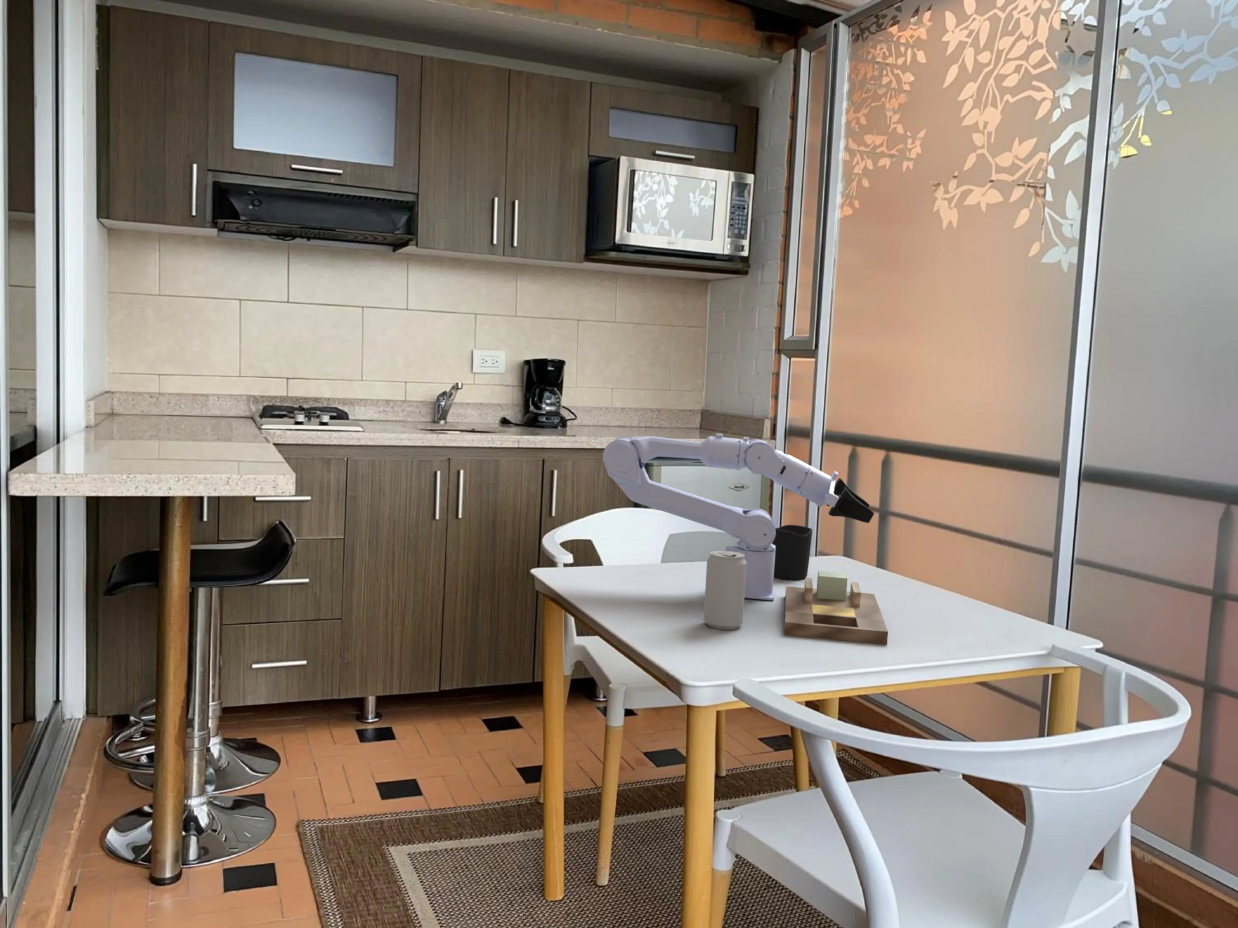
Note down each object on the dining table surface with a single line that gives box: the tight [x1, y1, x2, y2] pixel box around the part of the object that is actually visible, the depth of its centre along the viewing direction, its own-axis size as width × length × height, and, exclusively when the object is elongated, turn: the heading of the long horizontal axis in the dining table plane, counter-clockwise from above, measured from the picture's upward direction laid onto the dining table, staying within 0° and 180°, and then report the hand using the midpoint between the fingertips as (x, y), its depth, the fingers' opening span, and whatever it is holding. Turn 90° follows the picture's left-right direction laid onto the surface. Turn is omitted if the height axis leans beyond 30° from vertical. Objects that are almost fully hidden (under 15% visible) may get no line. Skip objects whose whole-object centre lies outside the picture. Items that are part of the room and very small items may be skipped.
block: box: [816, 570, 848, 601], centre depth 186 cm, size 5×5×4 cm
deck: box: [783, 577, 889, 645], centre depth 178 cm, size 16×28×4 cm, turn 171°
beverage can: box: [703, 550, 747, 631], centre depth 169 cm, size 6×6×12 cm
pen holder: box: [772, 524, 813, 581], centre depth 212 cm, size 9×9×10 cm
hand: (869, 513), depth 190 cm, fingers open, 7 cm apart
